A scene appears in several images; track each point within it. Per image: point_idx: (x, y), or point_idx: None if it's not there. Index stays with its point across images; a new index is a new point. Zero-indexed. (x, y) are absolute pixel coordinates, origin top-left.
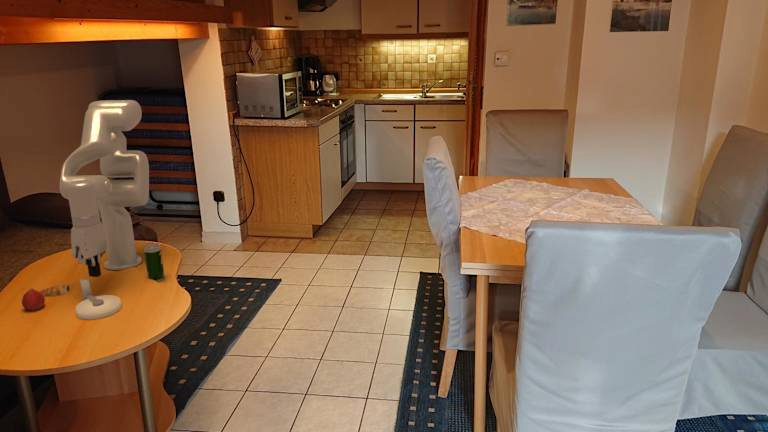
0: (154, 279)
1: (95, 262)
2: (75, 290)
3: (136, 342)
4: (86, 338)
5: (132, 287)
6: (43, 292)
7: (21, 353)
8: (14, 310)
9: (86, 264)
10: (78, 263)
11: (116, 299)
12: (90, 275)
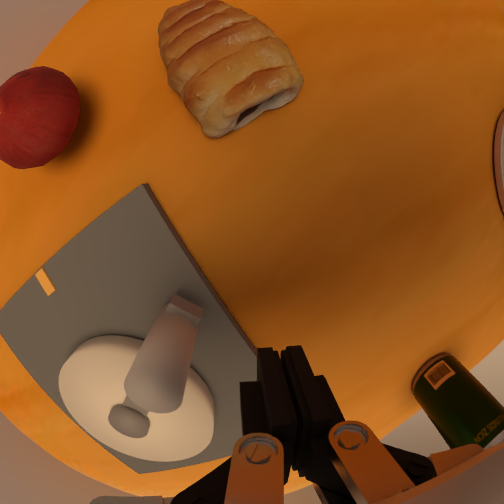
0: (414, 395)
1: (307, 475)
2: (307, 114)
3: (103, 481)
4: (49, 412)
5: (375, 355)
6: (173, 29)
7: None
8: (69, 40)
9: (222, 466)
10: (98, 497)
11: (188, 448)
12: (258, 361)
